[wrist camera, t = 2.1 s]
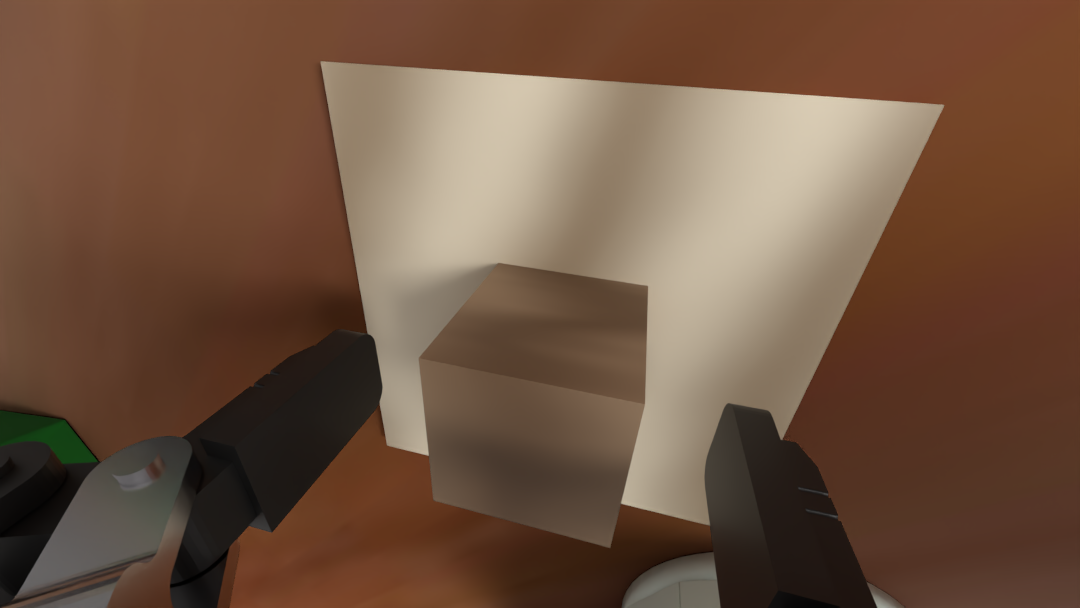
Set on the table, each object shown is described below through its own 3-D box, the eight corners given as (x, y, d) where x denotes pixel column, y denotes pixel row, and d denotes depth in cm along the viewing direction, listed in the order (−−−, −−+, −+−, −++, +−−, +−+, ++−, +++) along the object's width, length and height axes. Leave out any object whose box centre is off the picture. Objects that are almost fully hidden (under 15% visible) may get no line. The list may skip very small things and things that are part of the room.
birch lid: (914, 102, 8) (1243, 131, 4) (732, 506, 15) (768, 705, 10) (347, 62, 11) (107, 50, 6) (400, 426, 17) (304, 559, 12)
